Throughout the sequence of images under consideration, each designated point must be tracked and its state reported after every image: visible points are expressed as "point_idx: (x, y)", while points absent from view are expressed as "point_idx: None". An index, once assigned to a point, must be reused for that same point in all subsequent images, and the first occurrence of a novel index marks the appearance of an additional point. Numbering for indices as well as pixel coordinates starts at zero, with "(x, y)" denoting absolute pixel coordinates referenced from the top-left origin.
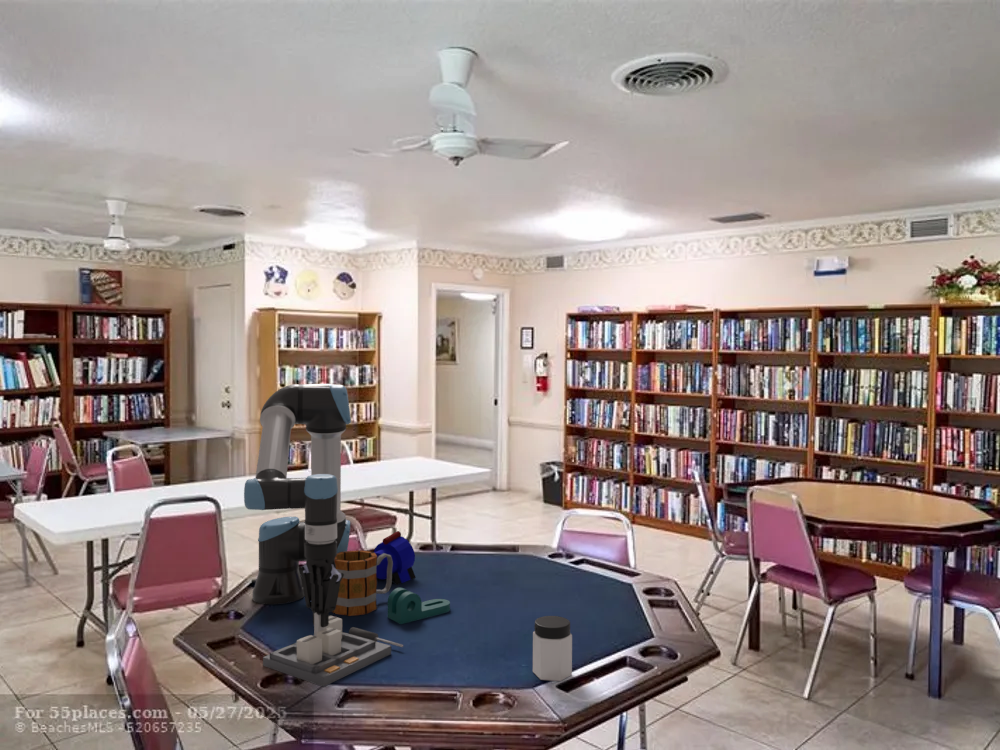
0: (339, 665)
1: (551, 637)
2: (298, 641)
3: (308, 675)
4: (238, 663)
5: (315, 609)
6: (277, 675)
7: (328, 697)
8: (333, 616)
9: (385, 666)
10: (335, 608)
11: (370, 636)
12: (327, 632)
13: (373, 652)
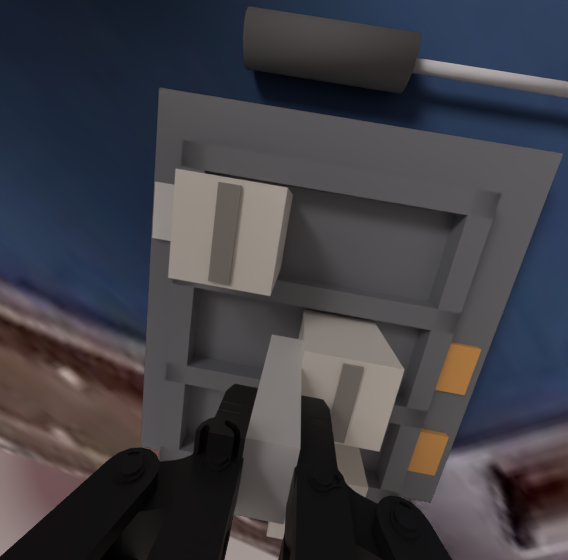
0: (431, 415)
1: None
2: (278, 533)
3: None
4: (81, 434)
5: (229, 534)
6: None
7: (467, 517)
8: (203, 174)
9: (554, 281)
10: (430, 524)
11: (394, 79)
12: (349, 424)
13: (507, 261)
